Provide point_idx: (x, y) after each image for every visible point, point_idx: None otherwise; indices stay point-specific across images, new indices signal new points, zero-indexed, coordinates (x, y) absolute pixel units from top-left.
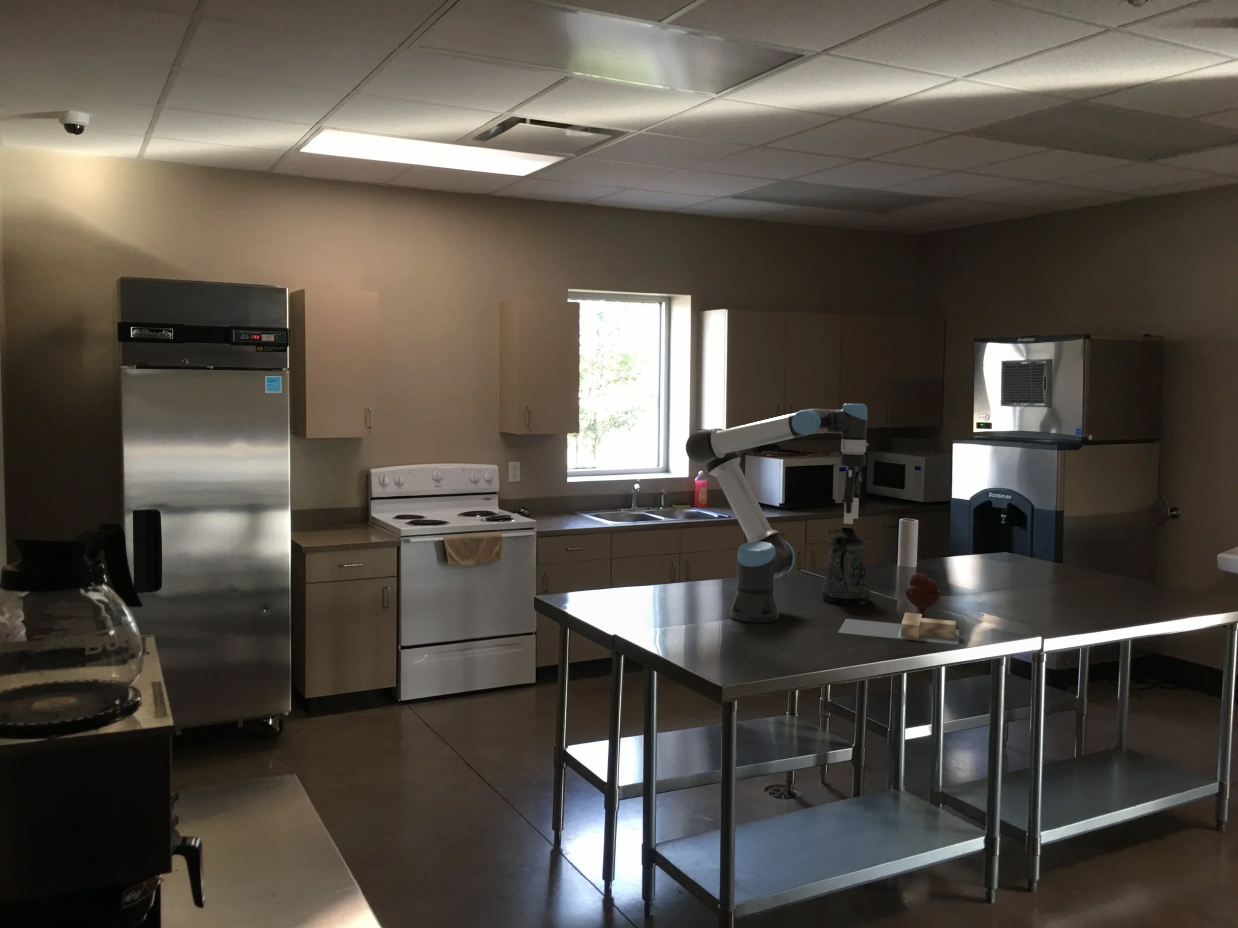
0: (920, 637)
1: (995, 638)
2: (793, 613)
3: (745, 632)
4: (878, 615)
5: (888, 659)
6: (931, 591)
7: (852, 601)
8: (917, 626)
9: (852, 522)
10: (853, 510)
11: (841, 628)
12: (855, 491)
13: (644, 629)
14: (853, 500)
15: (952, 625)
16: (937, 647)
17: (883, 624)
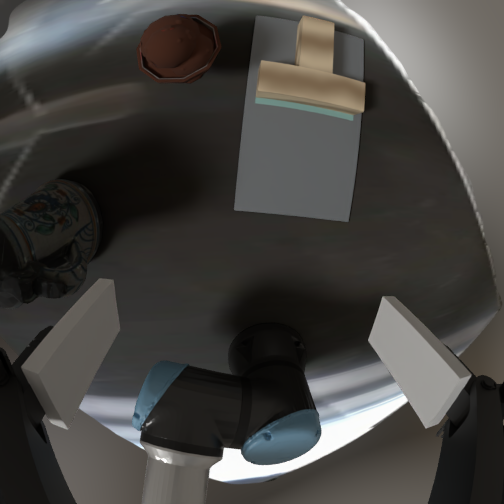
0: None
1: None
2: (213, 305)
3: (359, 345)
4: (169, 148)
5: (451, 157)
6: (198, 27)
7: (97, 208)
8: (364, 85)
9: (398, 301)
10: (96, 336)
11: (318, 216)
12: (42, 459)
13: (353, 420)
14: (66, 393)
15: (333, 27)
16: (382, 71)
17: (261, 136)
